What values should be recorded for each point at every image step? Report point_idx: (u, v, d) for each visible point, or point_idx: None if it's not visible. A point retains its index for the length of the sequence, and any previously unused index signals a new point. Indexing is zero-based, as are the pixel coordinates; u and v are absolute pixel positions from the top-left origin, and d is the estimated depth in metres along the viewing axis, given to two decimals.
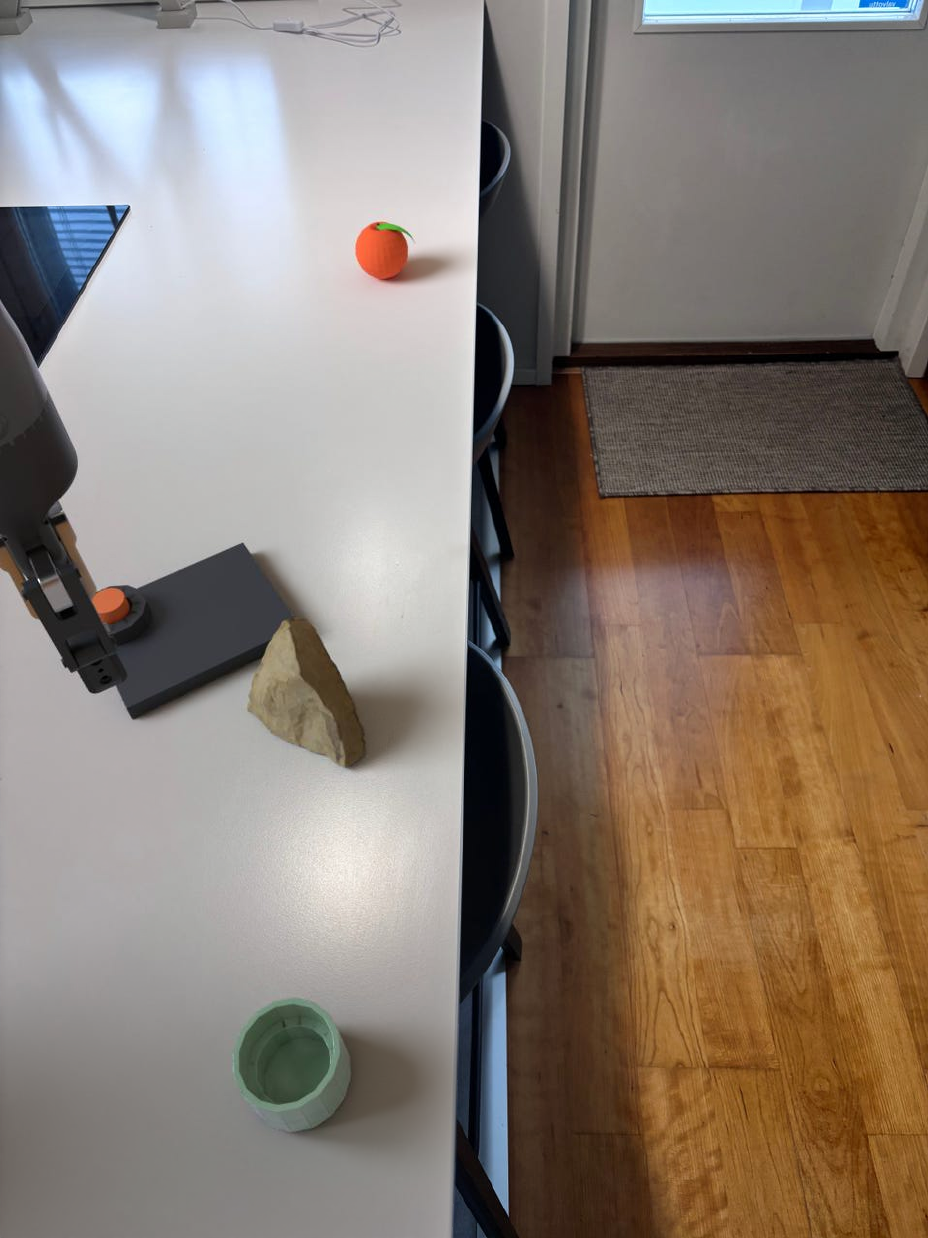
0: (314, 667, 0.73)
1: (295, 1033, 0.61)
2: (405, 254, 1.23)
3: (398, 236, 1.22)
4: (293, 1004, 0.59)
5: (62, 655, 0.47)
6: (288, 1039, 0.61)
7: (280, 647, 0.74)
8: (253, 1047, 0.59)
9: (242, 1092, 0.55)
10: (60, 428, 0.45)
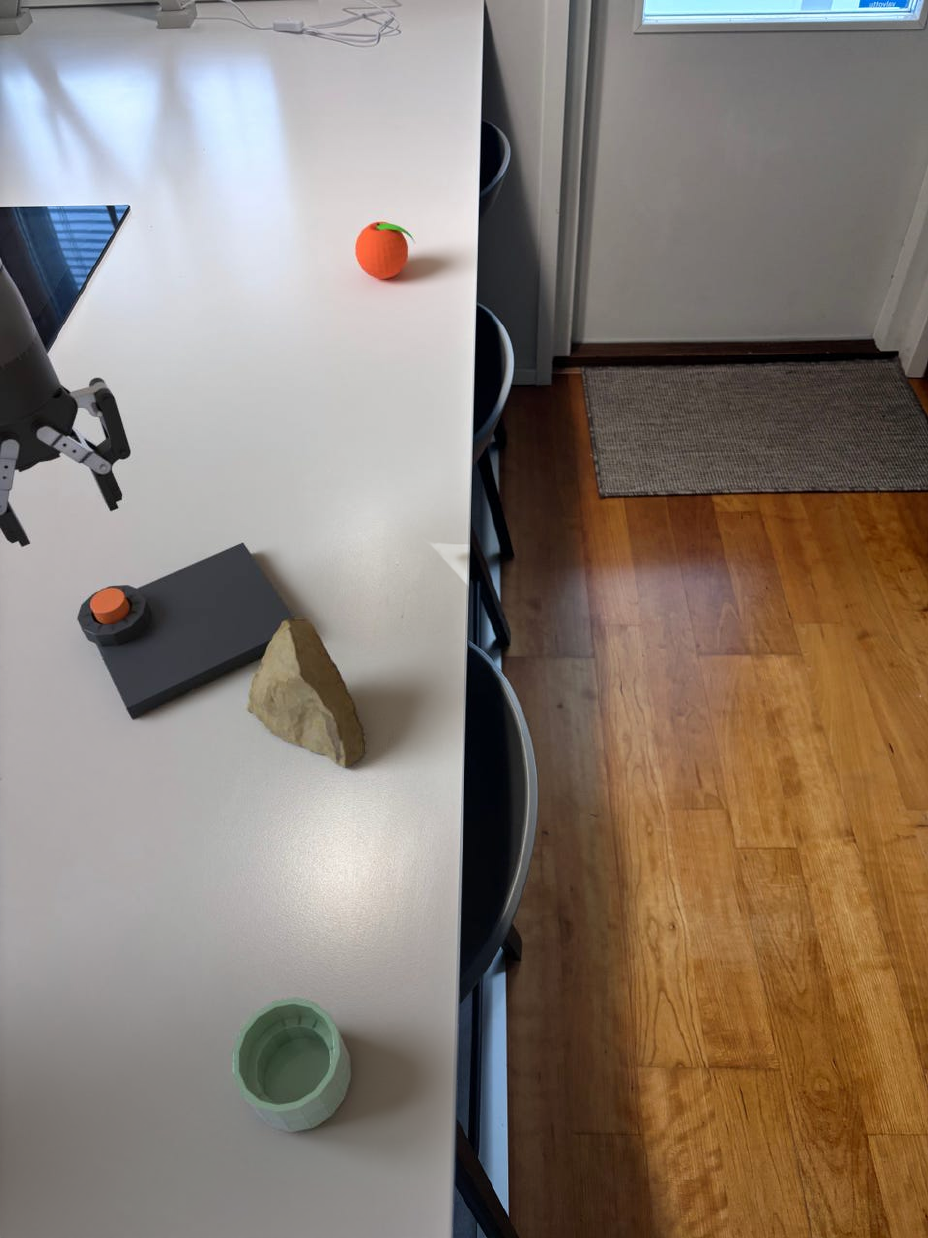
0: (314, 667, 0.73)
1: (295, 1033, 0.61)
2: (405, 254, 1.23)
3: (398, 236, 1.22)
4: (293, 1004, 0.59)
5: None
6: (288, 1039, 0.61)
7: (281, 647, 0.74)
8: (253, 1047, 0.59)
9: (242, 1092, 0.55)
10: None
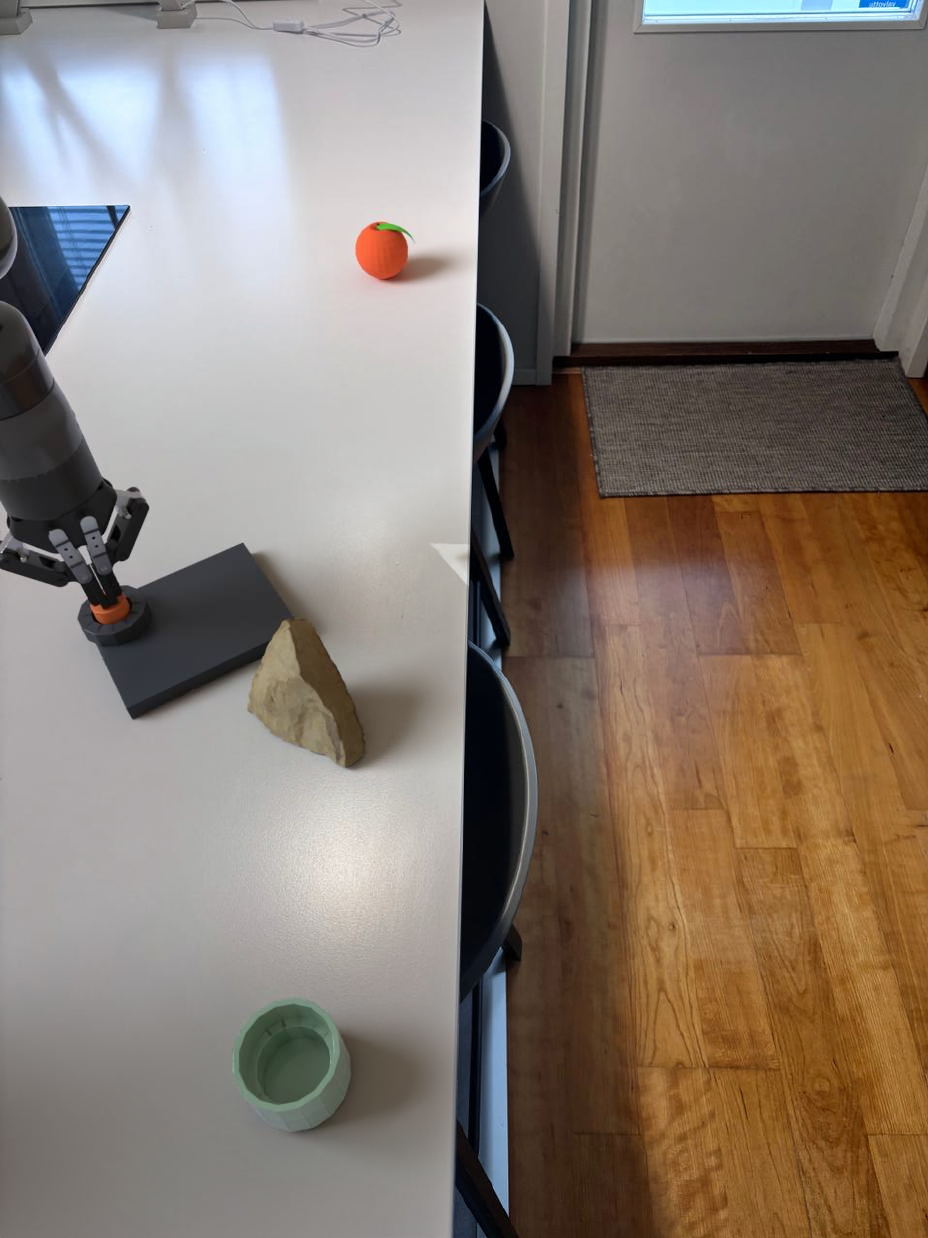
0: (314, 667, 0.73)
1: (295, 1033, 0.61)
2: (405, 254, 1.23)
3: (398, 236, 1.22)
4: (293, 1004, 0.59)
5: (133, 546, 0.80)
6: (288, 1039, 0.61)
7: (281, 647, 0.74)
8: (253, 1047, 0.59)
9: (242, 1092, 0.55)
10: None
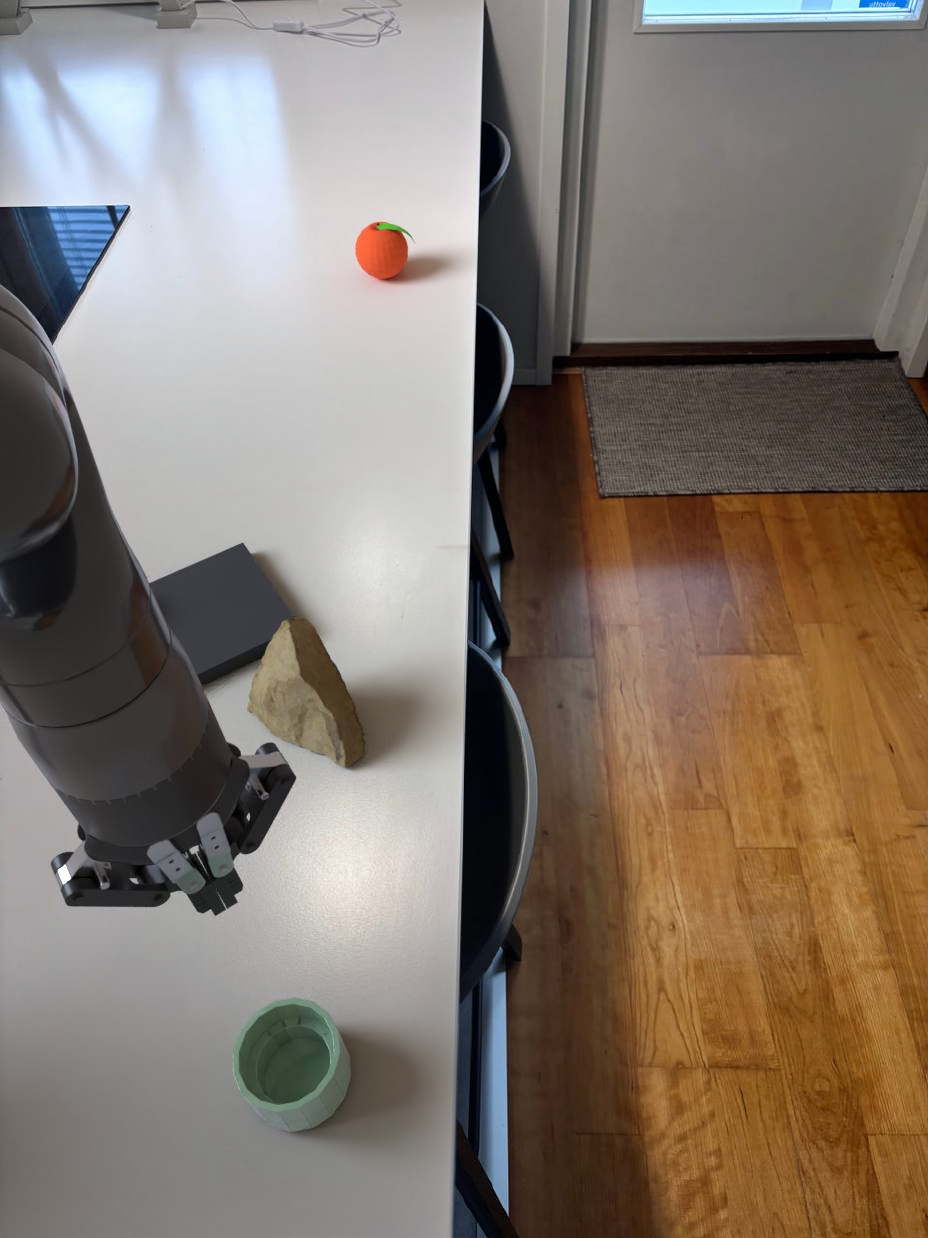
0: (314, 667, 0.73)
1: (295, 1033, 0.61)
2: (405, 254, 1.23)
3: (398, 236, 1.22)
4: (293, 1004, 0.59)
5: (267, 831, 0.51)
6: (288, 1039, 0.61)
7: (281, 647, 0.74)
8: (253, 1047, 0.59)
9: (242, 1092, 0.55)
10: None
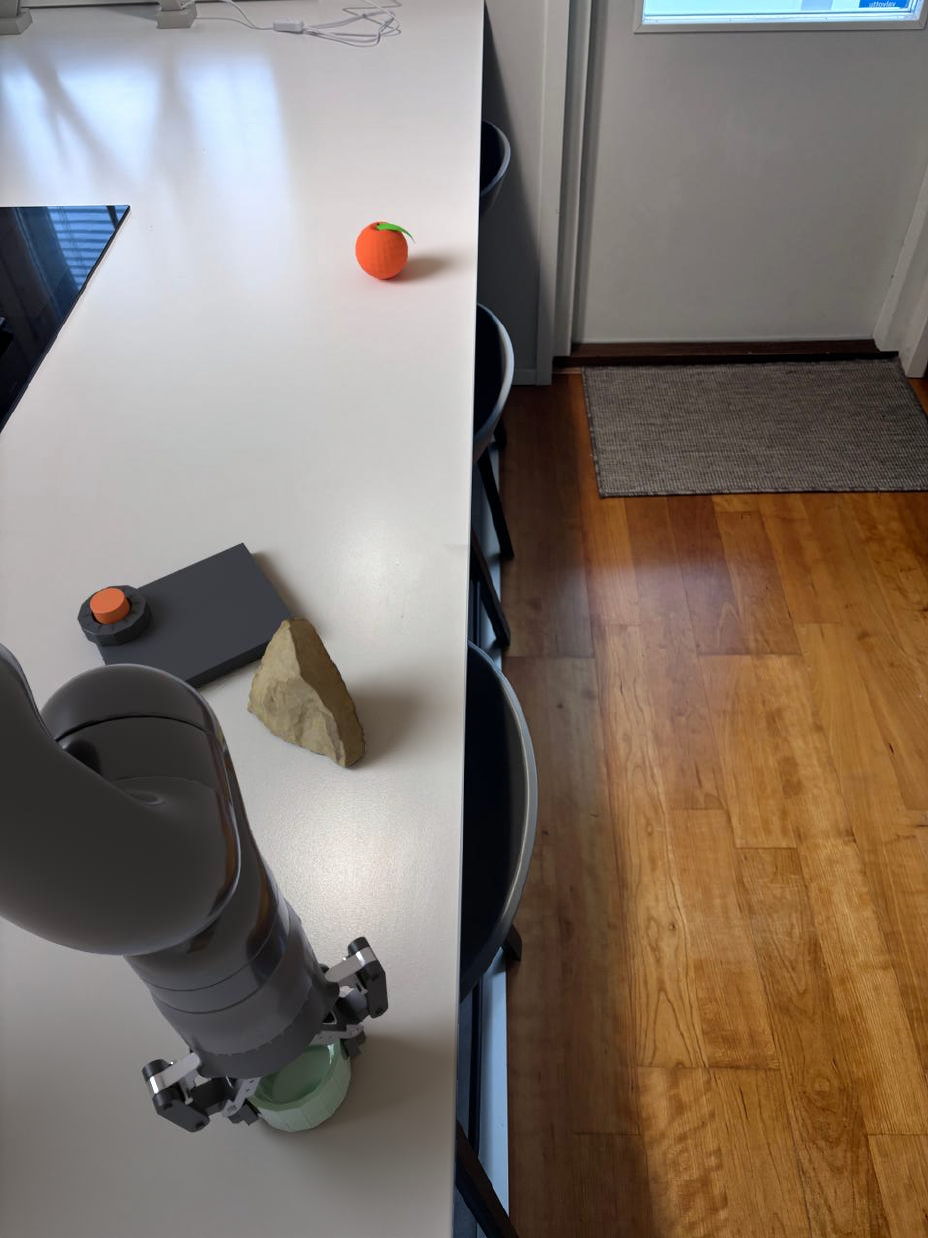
0: (314, 667, 0.73)
1: None
2: (405, 254, 1.23)
3: (398, 236, 1.22)
4: None
5: (387, 998, 0.57)
6: None
7: (281, 647, 0.74)
8: None
9: None
10: None
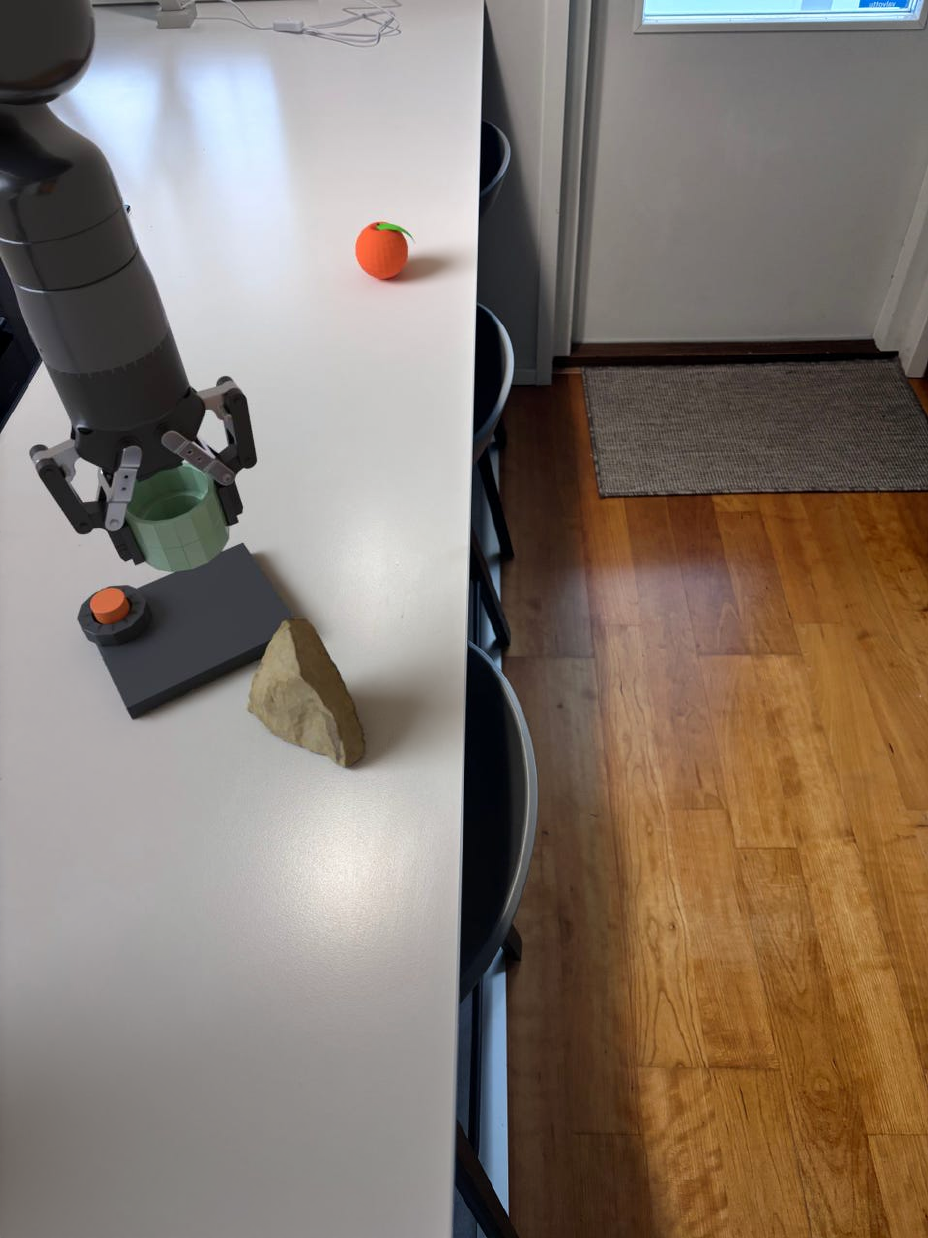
0: (314, 667, 0.73)
1: (182, 507, 0.69)
2: (405, 254, 1.23)
3: (398, 236, 1.22)
4: None
5: (254, 445, 0.65)
6: (176, 516, 0.69)
7: (281, 647, 0.74)
8: (142, 507, 0.67)
9: (125, 514, 0.63)
10: None
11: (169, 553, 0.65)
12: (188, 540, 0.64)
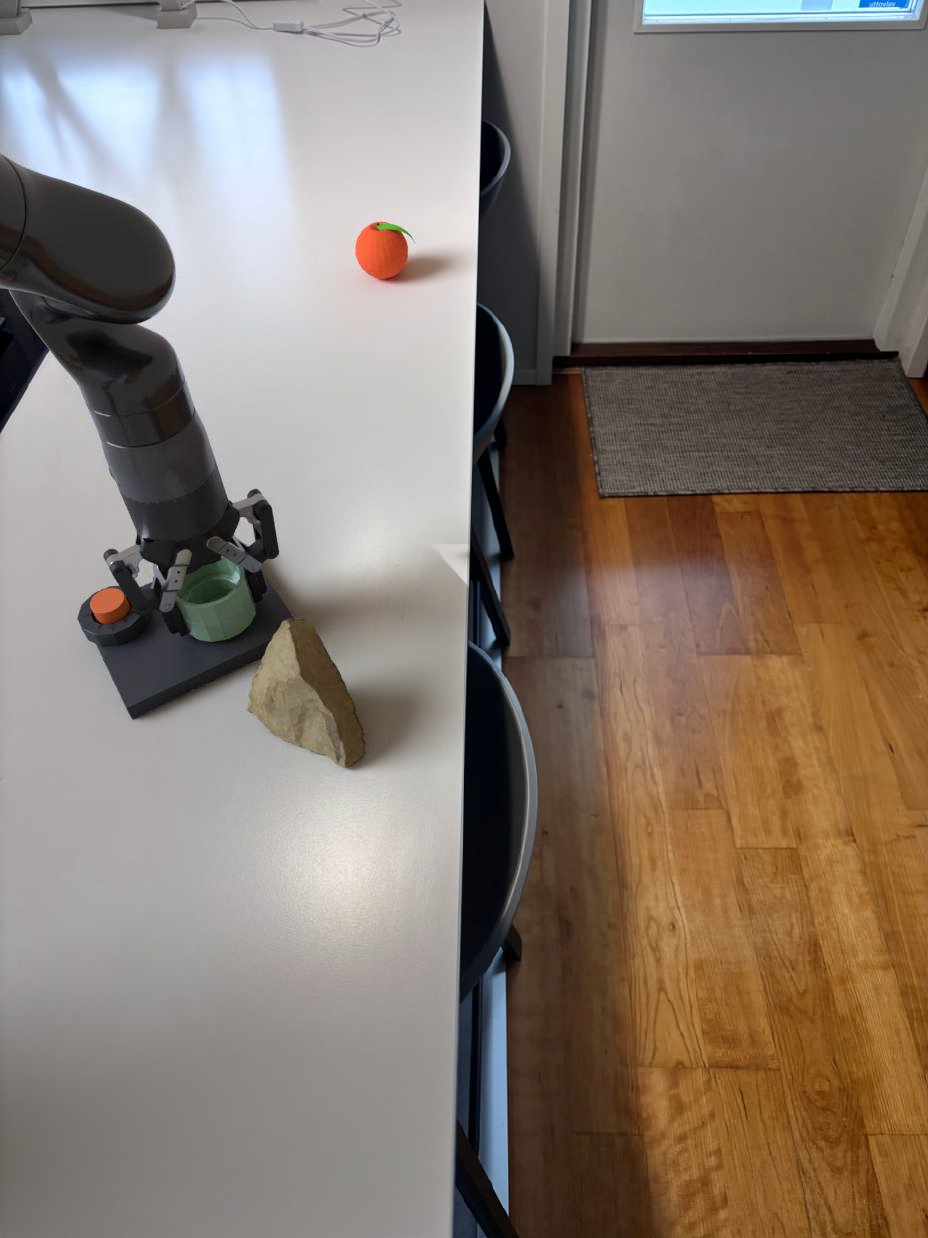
0: (314, 667, 0.73)
1: (217, 587, 0.85)
2: (405, 254, 1.23)
3: (398, 236, 1.22)
4: None
5: (277, 541, 0.81)
6: (212, 594, 0.86)
7: (281, 647, 0.74)
8: (186, 589, 0.84)
9: None
10: None
11: (209, 628, 0.81)
12: (225, 617, 0.81)
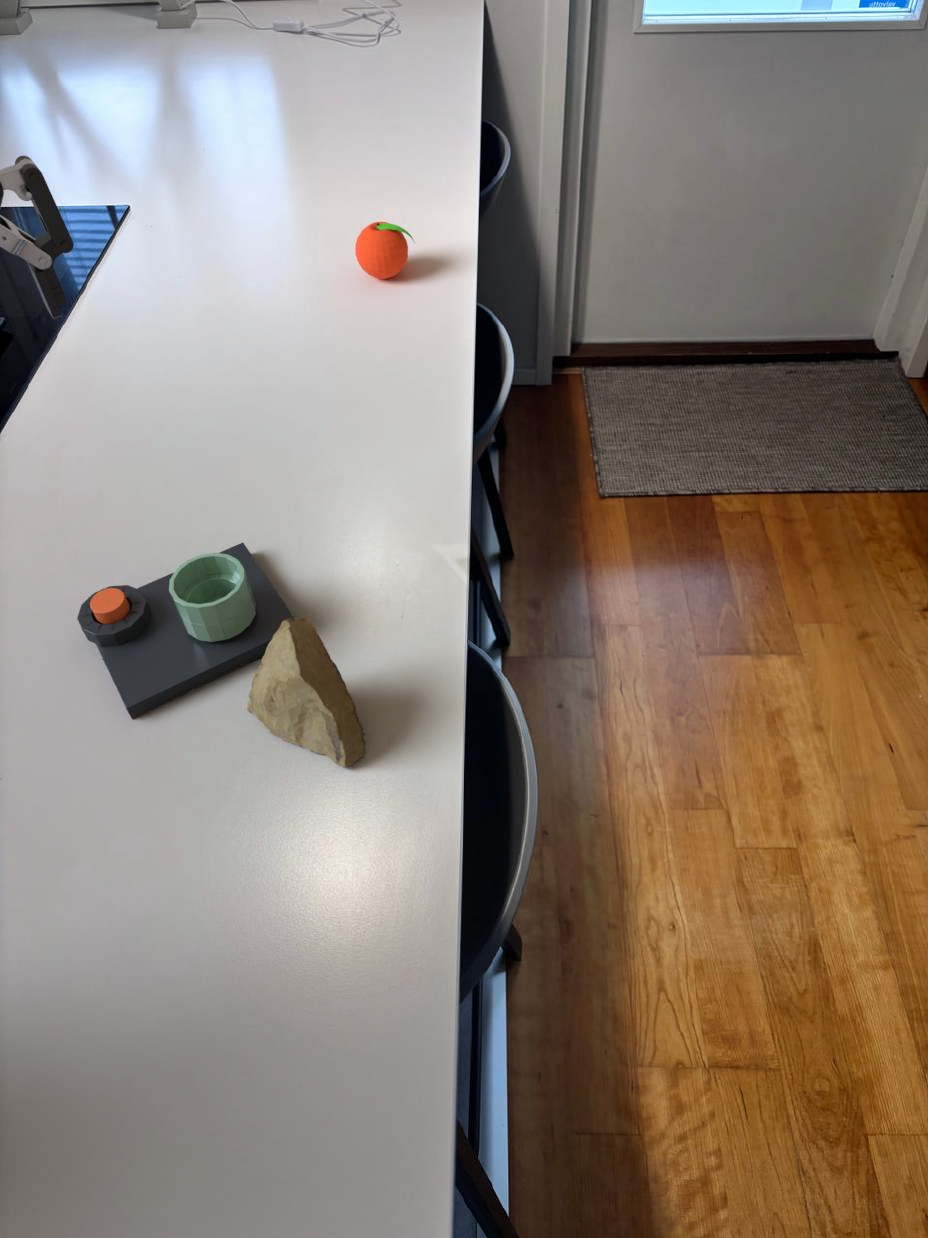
0: (314, 667, 0.73)
1: (217, 588, 0.85)
2: (405, 254, 1.23)
3: (398, 236, 1.22)
4: (213, 556, 0.83)
5: (66, 227, 0.66)
6: (212, 594, 0.86)
7: (281, 647, 0.74)
8: (186, 589, 0.84)
9: (175, 598, 0.80)
10: None
11: (209, 628, 0.81)
12: (225, 618, 0.81)
